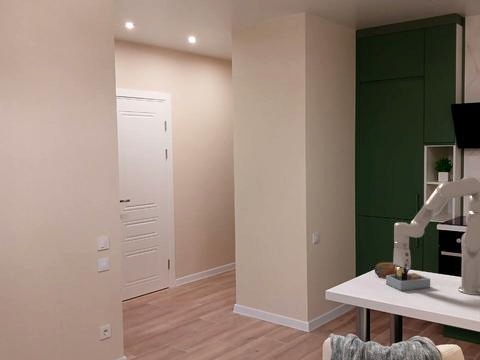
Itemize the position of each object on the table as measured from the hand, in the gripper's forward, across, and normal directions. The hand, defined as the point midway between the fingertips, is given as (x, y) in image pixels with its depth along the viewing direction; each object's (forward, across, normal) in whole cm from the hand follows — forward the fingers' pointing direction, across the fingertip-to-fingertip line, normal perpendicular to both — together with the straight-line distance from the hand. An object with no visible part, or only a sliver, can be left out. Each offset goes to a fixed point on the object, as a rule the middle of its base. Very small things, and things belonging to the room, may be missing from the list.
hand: (401, 278), depth 265 cm
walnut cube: (+4, 0, -8) cm, 9 cm away
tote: (+5, 0, -4) cm, 6 cm away
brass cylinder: (+1, 0, 0) cm, 1 cm away
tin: (+5, +21, -5) cm, 22 cm away
